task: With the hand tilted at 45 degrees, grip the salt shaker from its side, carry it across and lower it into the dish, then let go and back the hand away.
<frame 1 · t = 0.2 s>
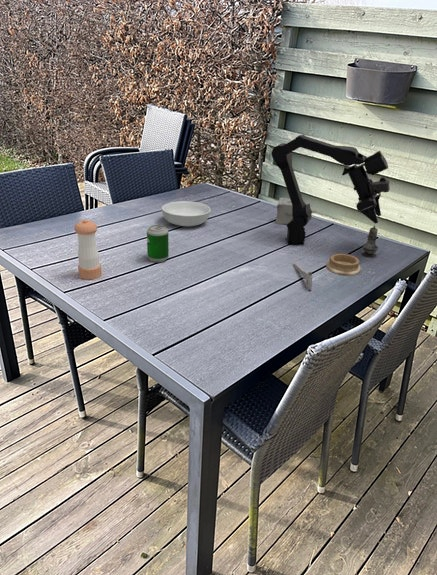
hand: (378, 219, 174), 15 cm above the table, tool tilted 35°, fingers open, 9 cm apart
dish: (343, 268, 170), on the table
serving bowl: (186, 223, 207), on the table
pepper shaker: (90, 275, 158), on the table
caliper: (301, 278, 163), on the table
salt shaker: (368, 255, 182), on the table
soda can: (158, 259, 171), on the table
incense holder: (287, 223, 212), on the table
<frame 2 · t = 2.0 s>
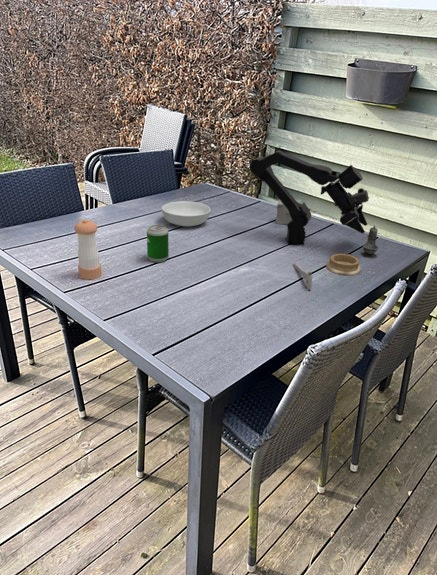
hand: (365, 228, 179), 10 cm above the table, tool tilted 45°, fingers open, 9 cm apart
nothing on the table moved.
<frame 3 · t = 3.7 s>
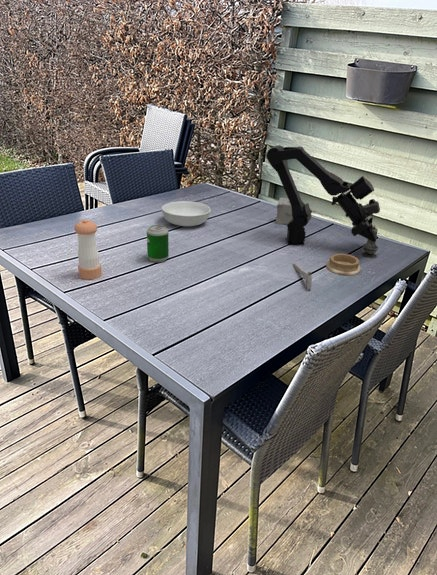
hand: (375, 239, 179), 7 cm above the table, tool tilted 45°, fingers closed on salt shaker, 4 cm apart
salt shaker: (368, 255, 182), on the table, touching gripper
everything else where it was.
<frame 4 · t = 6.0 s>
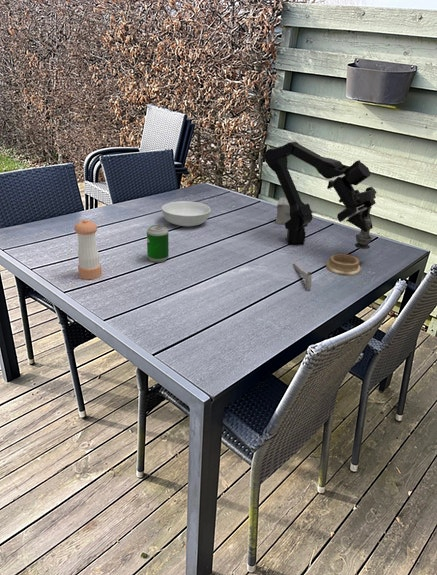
hand: (369, 230, 168), 13 cm above the table, tool tilted 45°, fingers closed on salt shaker, 4 cm apart
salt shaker: (362, 246, 172), point 6 cm above the table, touching gripper
everything else where it was.
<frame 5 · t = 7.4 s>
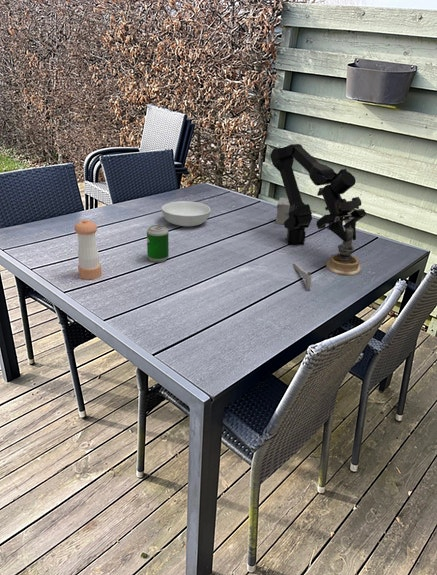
hand: (350, 240, 165), 11 cm above the table, tool tilted 45°, fingers closed on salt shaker, 4 cm apart
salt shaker: (344, 257, 169), point 4 cm above the table, touching gripper
everything else where it was.
when the fingers open (9 cm above the table, at t = 8.4 s): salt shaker drops 2 cm, resting on dish.
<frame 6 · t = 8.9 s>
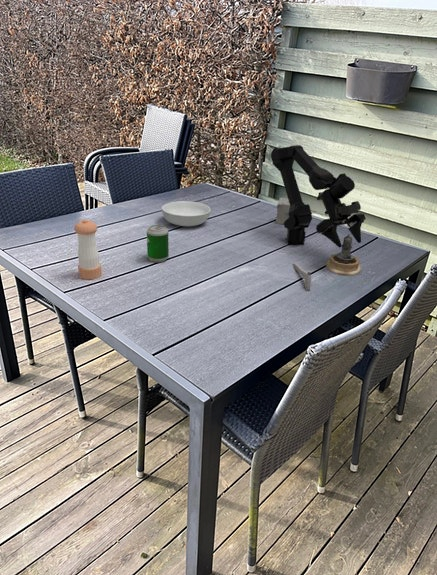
hand: (350, 244, 165), 10 cm above the table, tool tilted 45°, fingers open, 9 cm apart
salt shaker: (343, 265, 170), point 1 cm above the table, touching dish
everything else where it was.
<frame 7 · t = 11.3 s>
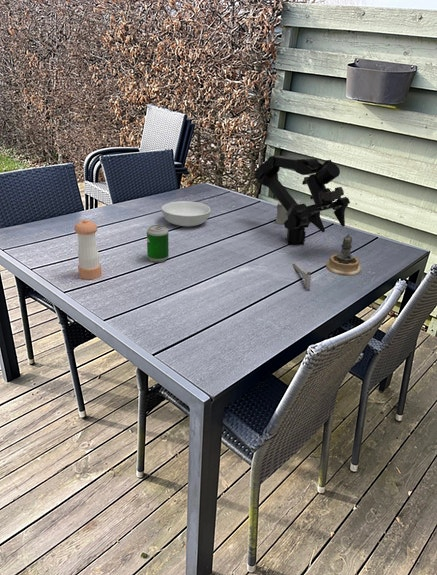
hand: (333, 229, 172), 12 cm above the table, tool tilted 40°, fingers open, 9 cm apart
nothing on the table moved.
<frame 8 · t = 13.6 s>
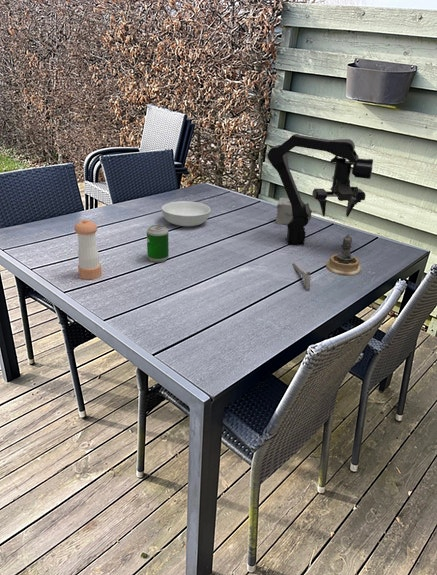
hand: (335, 216, 181), 13 cm above the table, tool pointing down, fingers open, 9 cm apart
nothing on the table moved.
at the end: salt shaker 0.2 cm off-centre on the dish, point 0.8 cm above the dish's base; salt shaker tilted 0°; the gripper is holding nothing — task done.
